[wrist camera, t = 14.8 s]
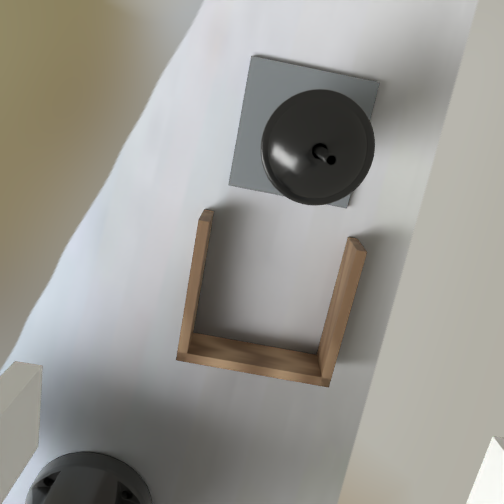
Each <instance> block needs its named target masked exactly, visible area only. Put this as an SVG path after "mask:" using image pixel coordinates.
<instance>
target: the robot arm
mask: <svg viewBox="0 0 504 504" xmlns="http://www.w3.org/2000/svg"><path fill="white" fill-rule="evenodd" d="M42 370H43V366H42V365H36V364H29V363H23V362H17V361H15V362H14V363H13V364H12V365H11V366H10V367H9V368H8V369H7V370H6V371H5V372H4V373H3V374H2V375H1V376H0V504H2V502H3V501H4V499H5V498H6V496H7V495H8V493H9V491H10V490H11V488H12V487H13V485H14V484H15V482H16V481H17V479H18V477H19V476H20V474H21V473H22V471H23V470H24V468H25V467H26V465H27V463H28V462H29V460H30V459H31V457H32V456H33V454H34V453H35V451H36V449H37V448H38V441H39V424H40V406H41V388H42ZM25 504H152V502H151V496H150V492H149V490H148V488H147V486H146V484H145V482H144V481H143V479H142V478H141V477H140V476H139V475H138V474H137V473H136V472H135V471H134V470H133V469H132V468H130V467H129V466H128V465H126V464H125V463H123V462H121V461H119V460H117V459H115V458H112V457H109V456H106V455H102V454H97V453H87V452H82V453H73V454H68V455H64V456H61V457H59V458H57V459H55V460H53V461H51V462H50V463H48V464H47V465H46V466H45V467H44V468H43V469H42V470H41V471H40V473H39V474H38V476H37V477H36V479H35V481H34V482H33V484H32V486H31V487H30V489H29V492H28V494H27V497H26V501H25ZM466 504H504V438H502V437H495V436H493V437H492V440H491V442H490V445H489V447H488V450H487V452H486V455H485V457H484V460H483V462H482V465H481V467H480V470H479V472H478V475H477V478H476V480H475V483H474V485H473V488H472V490H471V493H470V495H469V498H468V500H467V503H466Z"/></svg>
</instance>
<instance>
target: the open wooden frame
mask: <svg viewBox="0 0 504 504" xmlns="http://www.w3.org/2000/svg"><path fill="white" fill-rule="evenodd" d="M213 214H214V211H210V210H205V209H204V211H203V213H202V215H201V216H200V218H199V221H198V227H197V233H196V239H195V245H194V252H193V258H192V264H191V270H190V277H189V283H188V289H187V295H186V301H185V308H184V314H183V320H182V326H181V332H180V339H179V345H178V351H177V357H176V360H178V361H183V362H189V363H195V364H200V365H206V366H211V367H217V368H223V369H228V370H234V371H239V372H245V373H251V374H256V375H262V376H268V377H273V378H279V379H284V380H290V381H296V382H301V383H307V384H313V385H318V386H324V387H329V385H330V381H331V378H332V374H333V371H334V367H335V363H336V360H337V356H338V353H339V349H340V346H341V342H342V339H343V335H344V332H345V328H346V325H347V321H348V318H349V314H350V311H351V307H352V303H353V300H354V296H355V293H356V289H357V286H358V282H359V279H360V275H361V272H362V268H363V265H364V261H365V258H366V254H367V251H366V250H365V249H364V247H363V246H362V244H361V243H360V242H359V240H358V239H356V238H351V237H348V239H347V243H346V246H345V250H344V254H343V257H342V261H341V265H340V269H339V272H338V276H337V280H336V284H335V287H334V291H333V295H332V299H331V302H330V306H329V310H328V314H327V317H326V321H325V325H324V329H323V332H322V336H321V340H320V344H319V347H318V351H317V355H315V354H309V353H304V352H298V351H293V350H287V349H282V348H276V347H271V346H265V345H259V344H254V343H248V342H243V341H237V340H232V339H226V338H221V337H215V336H210V335H204V334H199V333H193V332H194V326H195V320H196V314H197V308H198V302H199V296H200V291H201V285H202V279H203V273H204V267H205V261H206V255H207V250H208V244H209V238H210V232H211V226H212V220H213Z"/></svg>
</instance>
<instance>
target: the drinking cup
mask: <svg viewBox="0 0 504 504" xmlns="http://www.w3.org/2000/svg"><path fill="white" fill-rule="evenodd" d="M374 150H375V139H374V132H373V128H372V126H371V123H370V121H369V118H368V117H367V115H366V113H365V112H364V111H363V109H362V108H361V107H360V106H359V105H358V104H357V103H356V102H355V101H354V100H352V99H351V98H349V97H348V96H346V95H344V94H342V93H340V92H337V91H333V90H328V89H312V90H307V91H303V92H300V93H297V94H295V95H293V96H291V97H290V98H288V99H287V100H285V101H284V102H283V103H281V104H280V105H279V106H278V107H277V108H276V109H275V111H274V112H273V113H272V115H271V116H270V118H269V119H268V121H267V123H266V125H265V128H264V130H263V134H262V138H261V147H260V151H261V160H262V165H263V168H264V171H265V173H266V175H267V177H268V179H269V181H270V182H271V183H272V185H273V186H274V187H275V188H276V189H277V190H278V191H279V192H280V193H281V194H283V195H284V196H285V197H287V198H289V199H291V200H293V201H295V202H298V203H301V204H306V205H325V204H330V203H333V202H336V201H338V200H340V199H342V198H344V197H346V196H347V195H349V194H350V193H351V192H353V191H354V190H355V189H356V188H357V187H358V186H359V185H360V184H361V183H362V181H363V180H364V178H365V177H366V175H367V173H368V171H369V169H370V167H371V164H372V161H373V157H374Z"/></svg>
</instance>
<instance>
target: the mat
mask: <svg viewBox="0 0 504 504" xmlns="http://www.w3.org/2000/svg"><path fill="white" fill-rule="evenodd" d="M379 84H380V82H376V81H371V80H366V79H361V78H356V77H352V76H347V75H342V74H337V73H332V72H327V71H322V70H318V69H313V68H308V67H303V66H298V65H293V64H289V63H284V62H279V61H274V60H269V59H264V58H260V57H255V56H251V61H250V66H249V72H248V78H247V83H246V89H245V95H244V100H243V106H242V111H241V117H240V123H239V128H238V134H237V140H236V145H235V151H234V157H233V162H232V168H231V173H230V179H229V185H230V186H235V187H240V188H245V189H250V190H255V191H260V192H266V193H271V194H276V195H281V196H284V195H283V194H281V193H280V192H279V191H278V190H277V189H276V188H275V187H274V186H273V185H272V183H271V182H270V181H269V179H268V177H267V175H266V173H265V171H264V168H263V165H262V160H261V151H260V147H261V138H262V134H263V130H264V128H265V125H266V123H267V121H268V119H269V118H270V116H271V115H272V113H273V112H274V111H275V109H276V108H277V107H278V106H279V105H280V104H281V103H283V102H284V101H285V100H287V99H288V98H290V97H291V96H293V95H295V94H297V93H300V92H303V91H307V90H312V89H328V90H333V91H337V92H340V93H342V94H344V95H346V96H348V97H349V98H351V99H352V100H354V101H355V102H356V103H357V104H358V105H359V106H360V107H361V108H362V109H363V111H364V112H365V113H366V115H367V117H368V118H369V121H370V118H371V114H372V110H373V106H374V103H375V99H376V95H377V91H378V87H379ZM350 195H351V193H350V194H349V195H347V196H346V197H344V198H342V199H340V200H338V201H336V202H333V203H330V204H327V205H332V206H337V207H343V208H347V206H348V202H349V198H350Z"/></svg>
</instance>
